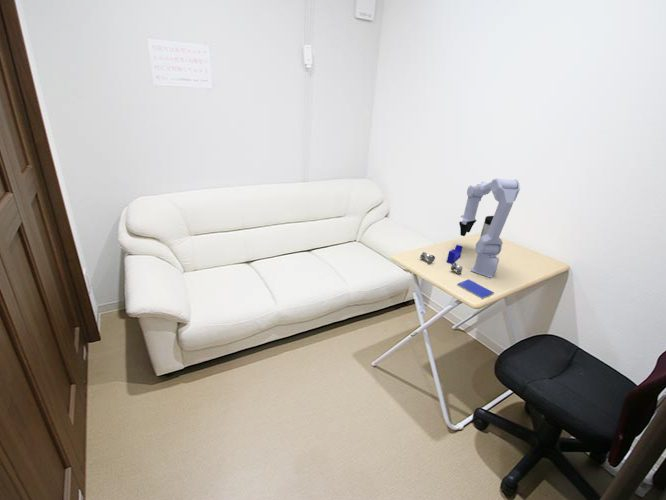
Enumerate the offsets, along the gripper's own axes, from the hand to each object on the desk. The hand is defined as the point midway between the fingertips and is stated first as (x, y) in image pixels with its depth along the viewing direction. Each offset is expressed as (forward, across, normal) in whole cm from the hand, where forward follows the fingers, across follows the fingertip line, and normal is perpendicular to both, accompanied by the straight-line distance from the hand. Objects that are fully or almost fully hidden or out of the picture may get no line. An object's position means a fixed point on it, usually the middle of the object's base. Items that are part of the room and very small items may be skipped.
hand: (464, 233), depth 183 cm
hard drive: (+10, +38, +19) cm, 44 cm away
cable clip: (+10, +15, 0) cm, 18 cm away
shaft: (+9, +27, -8) cm, 30 cm away
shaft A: (+9, +29, +7) cm, 31 cm away
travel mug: (+10, -6, +10) cm, 15 cm away
